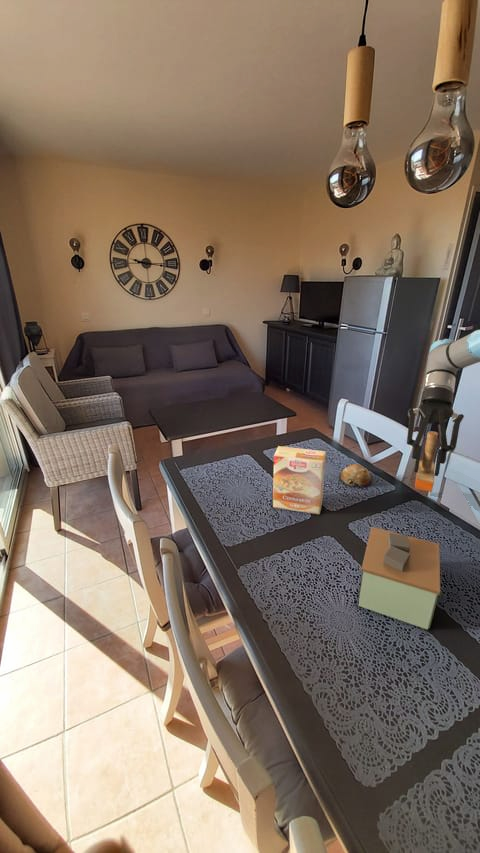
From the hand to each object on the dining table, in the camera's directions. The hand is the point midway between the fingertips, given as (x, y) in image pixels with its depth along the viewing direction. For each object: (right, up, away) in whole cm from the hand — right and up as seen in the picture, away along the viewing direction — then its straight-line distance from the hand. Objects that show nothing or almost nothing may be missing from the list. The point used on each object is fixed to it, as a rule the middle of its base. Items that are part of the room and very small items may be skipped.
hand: (426, 472), depth 92 cm
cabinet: (-12, -28, -8) cm, 31 cm away
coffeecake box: (-29, -14, +24) cm, 40 cm away
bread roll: (-6, -8, +37) cm, 39 cm away
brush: (+2, -3, +5) cm, 6 cm away
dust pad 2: (-14, -17, -15) cm, 27 cm away
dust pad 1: (-12, -16, -10) cm, 22 cm away
